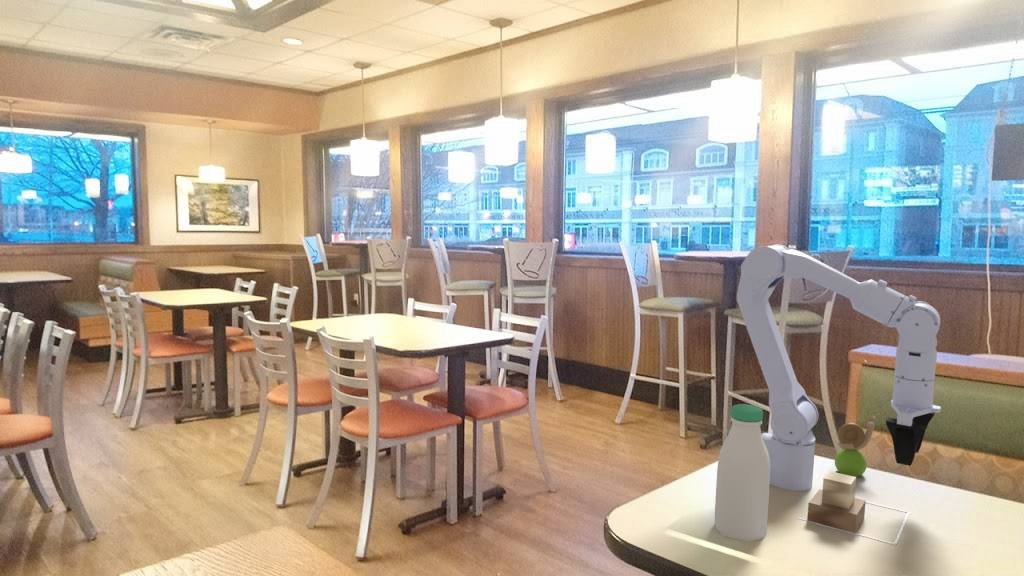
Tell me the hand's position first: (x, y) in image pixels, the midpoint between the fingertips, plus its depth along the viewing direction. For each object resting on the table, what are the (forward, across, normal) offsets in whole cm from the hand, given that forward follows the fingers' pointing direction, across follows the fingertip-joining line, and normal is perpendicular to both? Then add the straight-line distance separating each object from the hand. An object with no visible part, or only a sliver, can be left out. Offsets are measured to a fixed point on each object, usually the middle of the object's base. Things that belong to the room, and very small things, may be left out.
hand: (907, 457), depth 115 cm
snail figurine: (+10, +11, +10) cm, 18 cm away
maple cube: (+6, -12, +8) cm, 15 cm away
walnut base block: (+9, -12, +8) cm, 17 cm away
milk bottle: (+10, -25, +19) cm, 33 cm away
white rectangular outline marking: (+9, -8, +6) cm, 14 cm away
